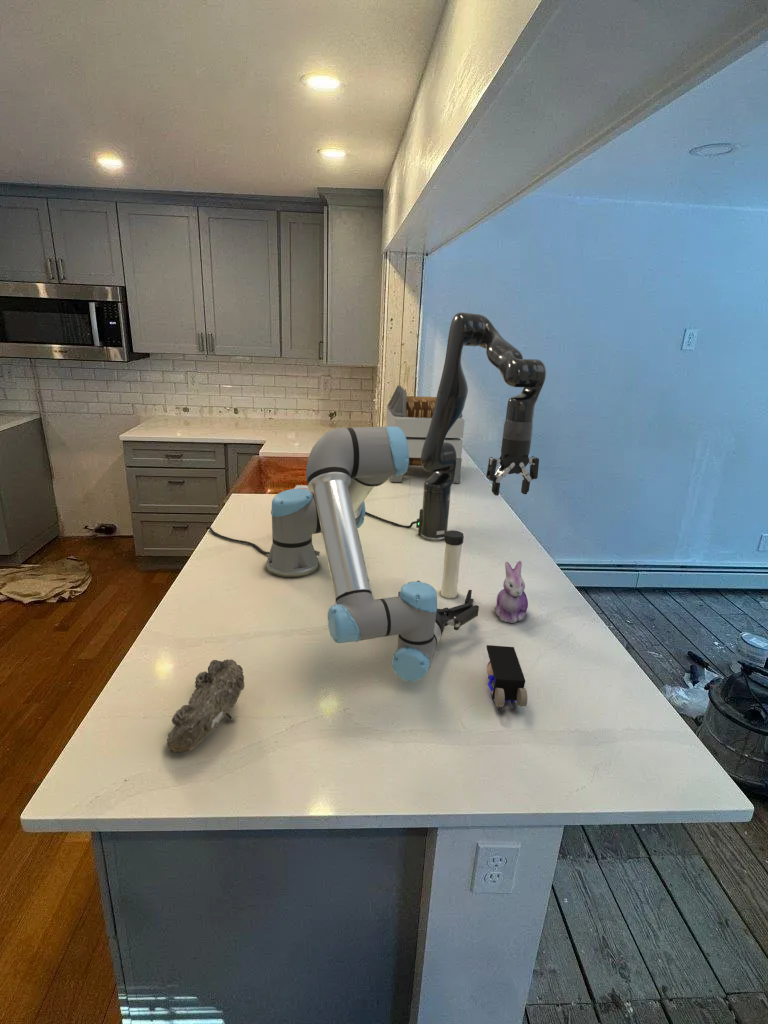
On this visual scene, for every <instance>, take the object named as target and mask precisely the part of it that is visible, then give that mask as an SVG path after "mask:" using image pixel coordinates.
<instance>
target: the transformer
mask: <svg viewBox="0 0 768 1024" xmlns="http://www.w3.org/2000/svg"><path fill="white" fill-rule="evenodd" d="M407 394H408V393H407V390H406V389H404V388H403V387H402V385H399V384H398V385H397V386H396V388H395V390H394V392H393V394H392V395H391V398H390V400H389V402H388V404H387V405H386V413H385V414H386V415H385V423H386V426H394V427H399V428H401V429H402V431H403V432H404V434H405V436H406V439H407V444H408V450H409V465H408V467H409V466H411V467H412V466H413V467H415V466H416V467H417V466H418V467H422V464H421V452H422V448H423V445H424V442H425V439H426V436H427V434H428V431H429V427H430V424H431V420H432V416H433V412H434V408H435V403H436V397H437V396H415V395H414V396H413V395H412V396H411V395H407ZM464 429H465V419H464V418H463V412H462V413H461V415H460V416H459V418H458V419H457V421H456V422H455V423H454V424H453V426H452V427H451V428H450V430H449V431H448V433H447V435H446V437H445V440H444V443H445V442H447V443H450V444H452V445H453V446H454V448H455V450H456V455H457V461H456V469H455V476H454V482H453V484H455V483H456V484H459V483H461V472H462V461H463V460H462V453H463V442H464V441H463V440H462V439H463V438H464V431H465V430H464ZM388 479H389V480H390V482H391V483H402V482H403V475H399V476H397V475H394V476H390V477H389V478H388Z"/></svg>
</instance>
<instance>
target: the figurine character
mask: <svg viewBox="0 0 768 1024" xmlns="http://www.w3.org/2000/svg"><path fill="white" fill-rule="evenodd" d="M485 648H486V651H487V655H488V659H489V661H488V663H487V665H486V672H487V674H488V677H487V678H488V681H487V686H488V689H489V690H490V693H491V699H492V700H494V704H495V705H494V706H495V707H497V708H498V709H499V710H500V711H501V712H502V711H503V707H504V706H505V703H506V702H510V704H511V708H512V711H514V712H516V711H517V710H518V709H517V708H518V707H523V708H524V707H527V705H528V692H527V688H525V684H526V678H525V675H524V673H523V669H522V667H521V664H520V660H519V658H518V654H517V652H516V649H515V646H508V645H507V646H506V645H493V644H491V645H490V644H486V647H485ZM492 684H493V685H492ZM516 703H517V704H516ZM517 706H518V707H517Z"/></svg>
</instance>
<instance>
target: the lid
mask: <svg viewBox="0 0 768 1024" xmlns="http://www.w3.org/2000/svg"><path fill="white" fill-rule="evenodd" d="M464 537H465V535H464V533H463V532H462V531H459V530H453V529H452V530H451V529H450V530H447V532H445V539H444V540H443V541H444V543H445V544H446V543H447V544H449V545H461V546H462V545H463V543H464Z"/></svg>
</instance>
